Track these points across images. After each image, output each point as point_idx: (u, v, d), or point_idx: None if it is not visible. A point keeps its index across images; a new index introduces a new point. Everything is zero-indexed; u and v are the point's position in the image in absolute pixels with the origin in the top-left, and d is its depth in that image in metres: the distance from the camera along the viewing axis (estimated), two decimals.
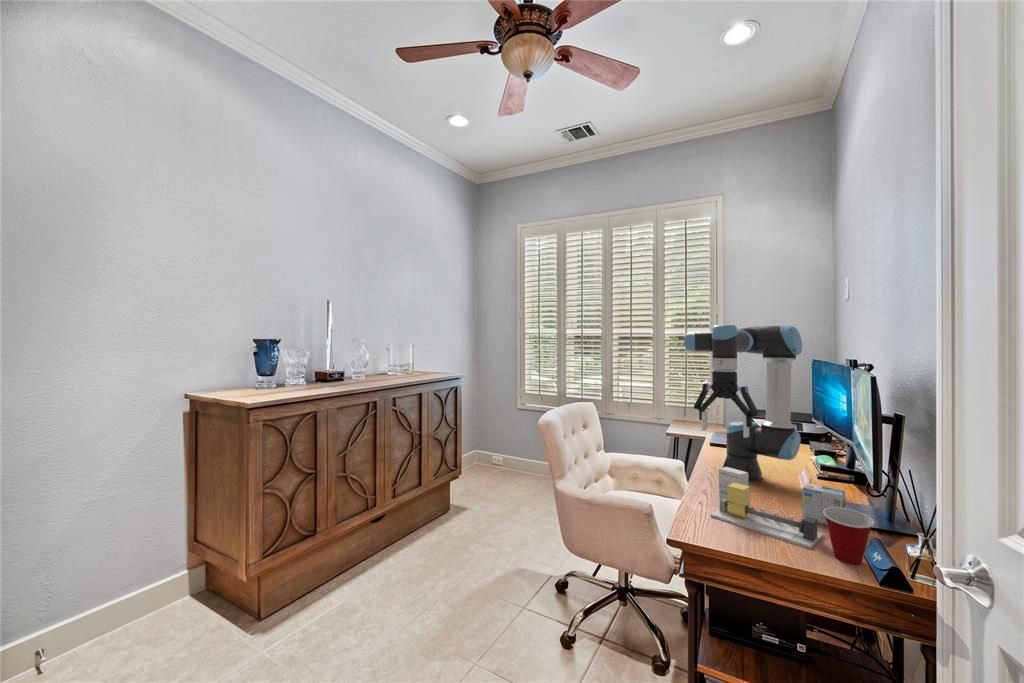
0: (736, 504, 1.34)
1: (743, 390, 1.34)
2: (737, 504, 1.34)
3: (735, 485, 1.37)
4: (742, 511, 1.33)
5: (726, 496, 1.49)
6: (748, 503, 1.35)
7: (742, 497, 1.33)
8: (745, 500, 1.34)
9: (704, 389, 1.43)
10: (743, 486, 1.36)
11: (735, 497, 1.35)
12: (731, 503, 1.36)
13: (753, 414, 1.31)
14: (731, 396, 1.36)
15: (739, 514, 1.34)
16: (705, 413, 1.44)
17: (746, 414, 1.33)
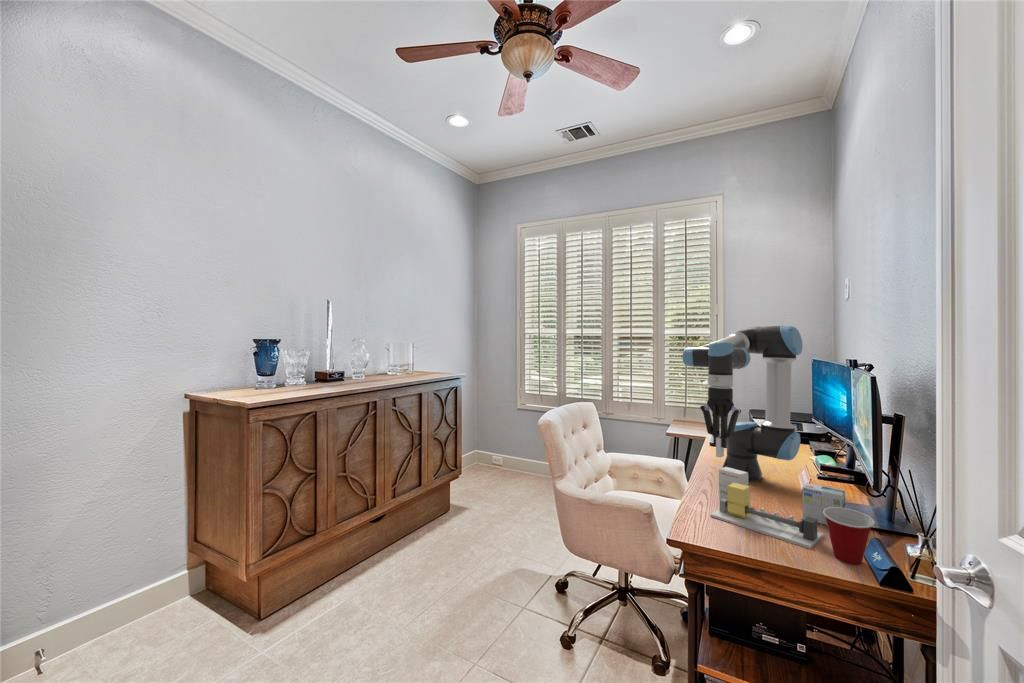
0: (736, 504, 1.34)
1: (735, 413, 1.36)
2: (737, 504, 1.34)
3: (735, 485, 1.37)
4: (742, 511, 1.33)
5: (726, 496, 1.49)
6: (748, 503, 1.35)
7: (742, 497, 1.33)
8: (745, 500, 1.34)
9: (704, 410, 1.44)
10: (743, 486, 1.36)
11: (735, 497, 1.35)
12: (731, 503, 1.36)
13: (727, 435, 1.38)
14: (721, 414, 1.39)
15: (739, 514, 1.34)
16: None
17: (722, 434, 1.39)
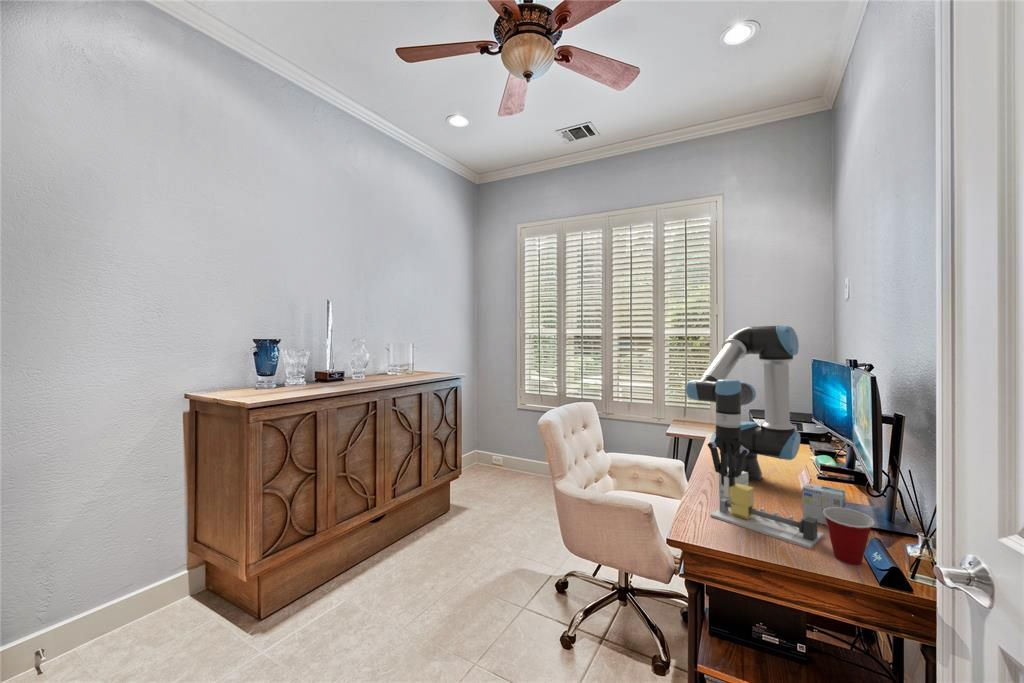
0: (740, 505, 1.34)
1: (743, 453, 1.34)
2: (741, 505, 1.33)
3: (739, 486, 1.36)
4: (746, 512, 1.32)
5: None
6: (752, 504, 1.34)
7: (745, 498, 1.32)
8: (749, 501, 1.33)
9: (712, 448, 1.42)
10: (747, 487, 1.35)
11: (738, 498, 1.34)
12: (735, 504, 1.35)
13: (735, 475, 1.36)
14: (729, 453, 1.37)
15: (743, 515, 1.33)
16: None
17: (730, 474, 1.37)
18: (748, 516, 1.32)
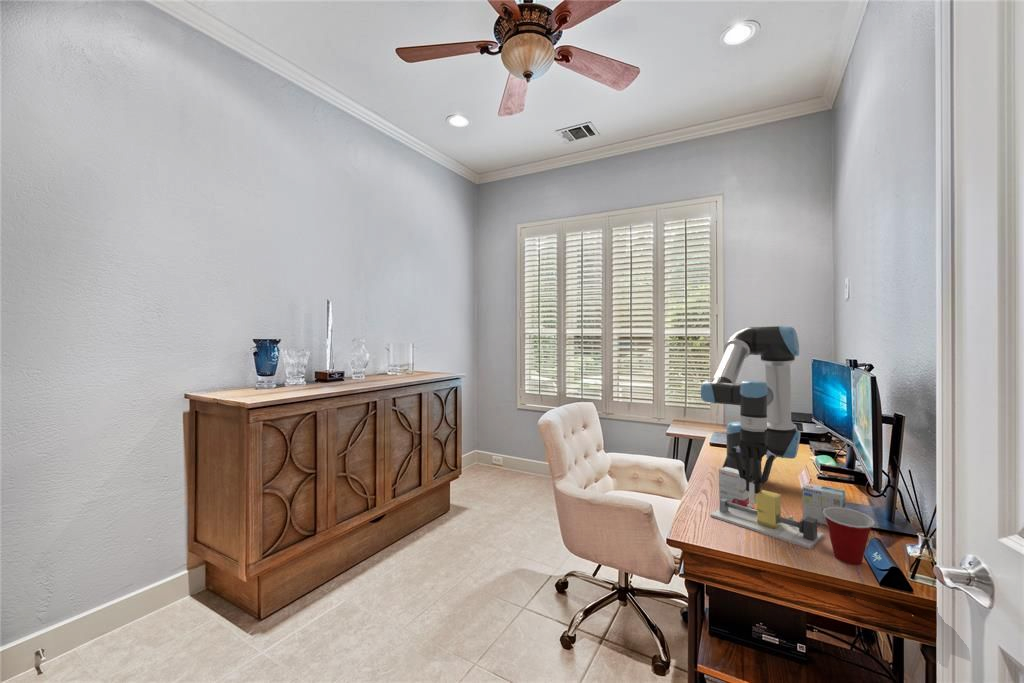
0: (767, 513, 1.27)
1: (771, 458, 1.28)
2: (768, 513, 1.27)
3: (765, 493, 1.30)
4: (773, 520, 1.26)
5: (726, 496, 1.49)
6: (779, 512, 1.28)
7: (773, 505, 1.26)
8: (776, 509, 1.27)
9: (736, 453, 1.36)
10: (774, 494, 1.29)
11: (765, 505, 1.28)
12: (761, 512, 1.29)
13: (762, 481, 1.30)
14: (755, 458, 1.31)
15: (770, 523, 1.27)
16: None
17: (755, 480, 1.31)
18: (776, 524, 1.26)
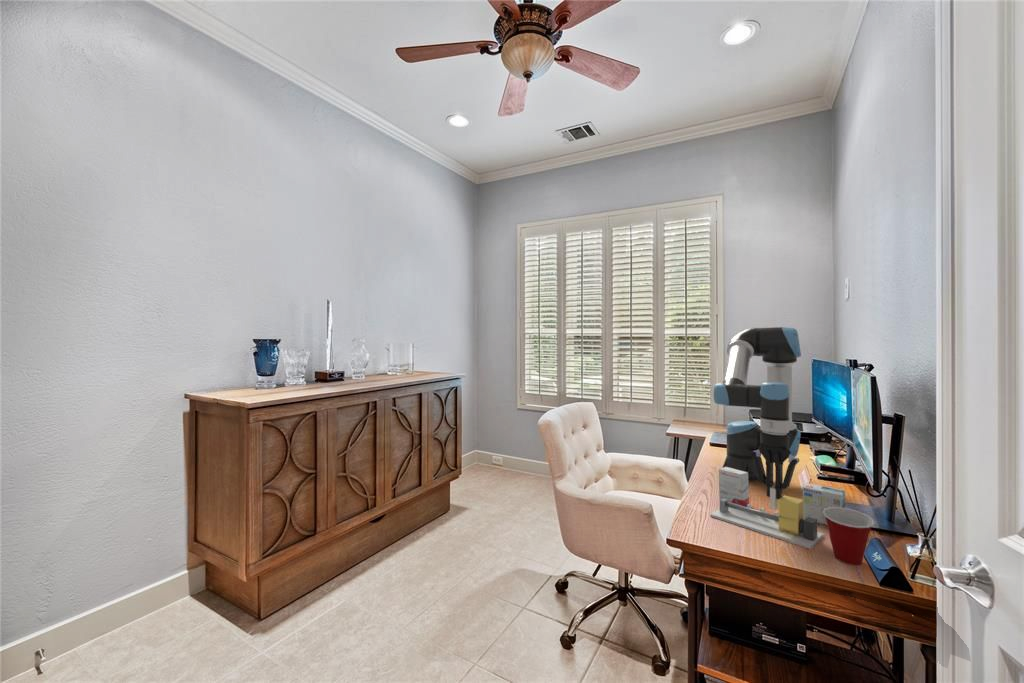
0: (789, 519, 1.23)
1: (793, 463, 1.23)
2: (791, 519, 1.23)
3: (787, 499, 1.25)
4: (796, 527, 1.22)
5: (726, 496, 1.49)
6: (802, 518, 1.24)
7: (795, 511, 1.22)
8: (799, 515, 1.22)
9: (755, 457, 1.31)
10: (796, 499, 1.24)
11: (787, 511, 1.23)
12: (783, 518, 1.24)
13: (783, 486, 1.25)
14: (777, 463, 1.26)
15: (792, 530, 1.22)
16: None
17: (777, 485, 1.26)
18: None
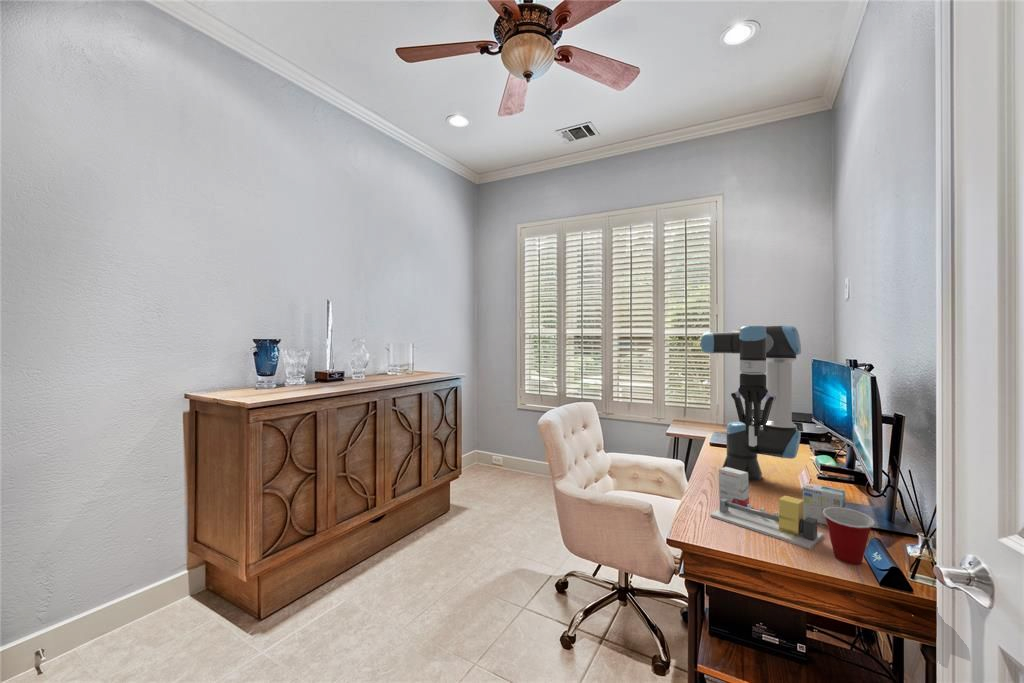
0: (789, 519, 1.23)
1: (770, 400, 1.29)
2: (791, 520, 1.23)
3: (787, 499, 1.25)
4: (796, 527, 1.21)
5: (726, 496, 1.49)
6: (802, 518, 1.24)
7: (796, 511, 1.22)
8: (799, 515, 1.22)
9: (735, 398, 1.37)
10: (796, 500, 1.24)
11: (787, 511, 1.23)
12: (783, 518, 1.24)
13: (761, 423, 1.31)
14: (755, 401, 1.32)
15: (793, 530, 1.22)
16: None
17: (755, 422, 1.33)
18: None
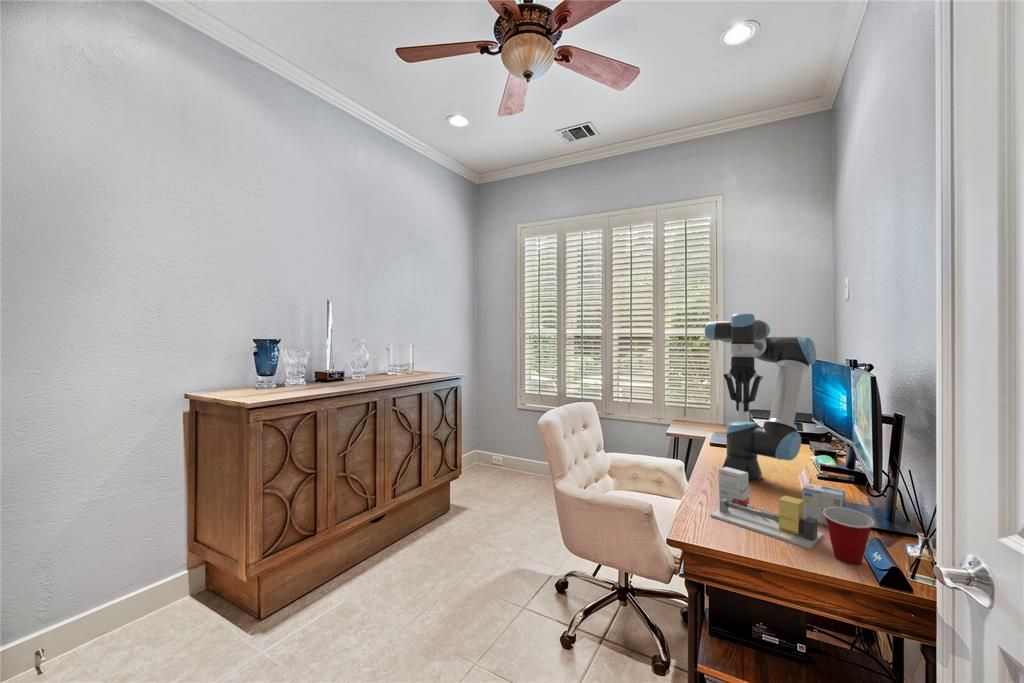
0: (789, 519, 1.23)
1: (757, 379, 1.46)
2: (791, 520, 1.23)
3: (787, 499, 1.25)
4: (796, 527, 1.21)
5: (726, 496, 1.49)
6: (802, 518, 1.24)
7: (796, 511, 1.22)
8: (799, 515, 1.22)
9: (727, 378, 1.54)
10: (796, 500, 1.24)
11: (787, 511, 1.23)
12: (783, 518, 1.24)
13: (750, 399, 1.48)
14: (744, 380, 1.49)
15: (793, 530, 1.22)
16: None
17: (744, 399, 1.49)
18: None
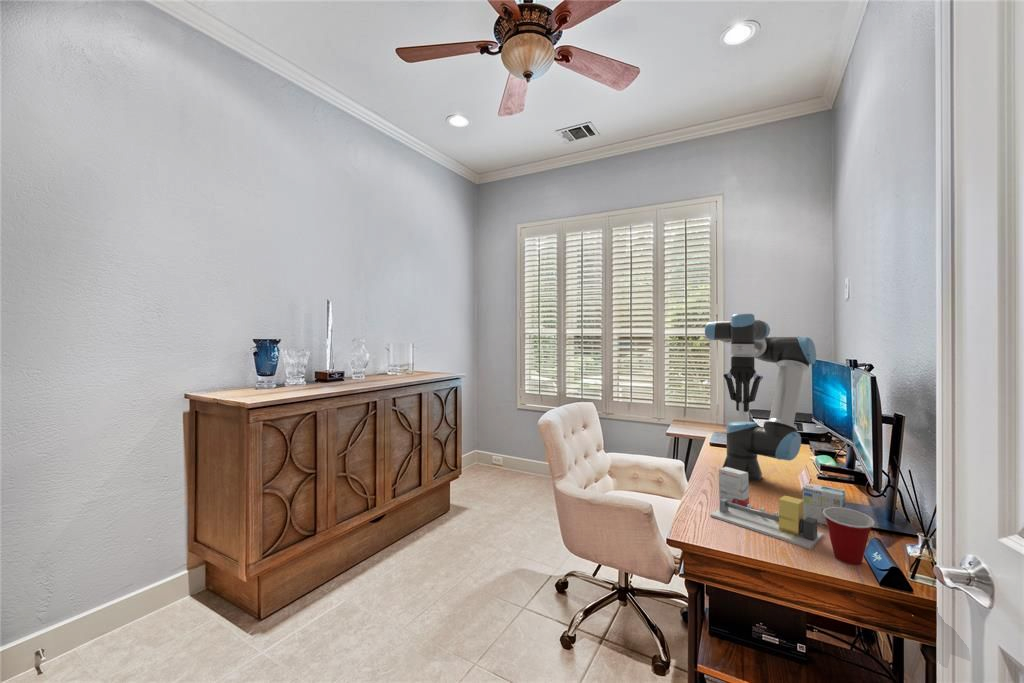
0: (789, 519, 1.23)
1: (757, 379, 1.46)
2: (791, 520, 1.23)
3: (787, 499, 1.25)
4: (796, 527, 1.21)
5: (726, 496, 1.49)
6: (802, 518, 1.24)
7: (796, 511, 1.22)
8: (799, 515, 1.22)
9: (727, 378, 1.54)
10: (796, 500, 1.24)
11: (787, 511, 1.23)
12: (783, 518, 1.24)
13: (750, 399, 1.48)
14: (744, 380, 1.49)
15: (793, 530, 1.22)
16: None
17: (744, 399, 1.49)
18: None
